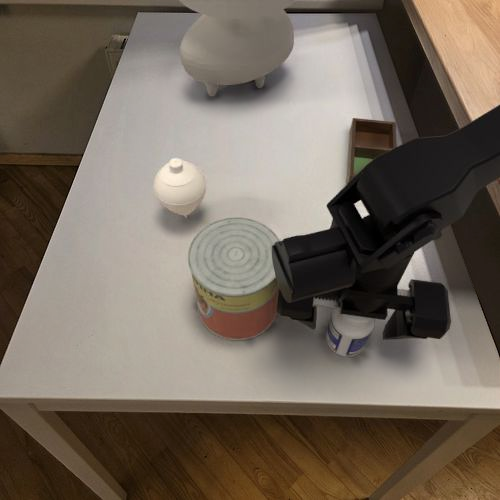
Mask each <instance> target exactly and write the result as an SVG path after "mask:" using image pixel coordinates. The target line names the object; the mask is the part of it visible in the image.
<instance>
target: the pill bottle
mask: <svg viewBox="0 0 500 500" xmlns="http://www.w3.org/2000/svg"><path fill="white" fill-rule="evenodd" d="M340 312H341V309H335V308H332V311H331V315H330V318H329V322H328V324H327V329H326V331H325V332H326V333H325V340H326V343H327V345H328V347H329V348H330V350H332V352H334V353H335V354H337V355H338V356H341V357H344V358H345V357H346V358H351V357H355V356H358V355H360V354H361V353H362V352H363V351H364V349H365V348H366V345H367V343H368V341H369V339H370V337H371V335H372V333H373V331H374V328H375V325H376V319H374V318H367V317H360V316H353V315H346V314H340Z"/></svg>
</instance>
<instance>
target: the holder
mask: <svg viewBox="0 0 500 500" xmlns="http://www.w3.org/2000/svg"><path fill="white" fill-rule="evenodd" d="M351 119H352V120H351V125H350V128H349V143H348V161H347V178H346V185H347V184H348V183H349V182H350V181H351V180H352V179H353V178H354V177H355V176H356V175H357V174H358V173H359V172H360V171H361V170H362V169H363V168H364V167H365V166H366V165H367V164H368V163H369V162H370V161H372V160H373V159H374V158H376V157H378V156H379V155H381V154H383V153H385V152H387V151H389V150H391V149H394V148H396V147H398V146H397V144H398V143H397V122H395V121H388V120H380V119H379V120H378V119H368V118H360V117H359V118H357V117H352V118H351Z"/></svg>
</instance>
